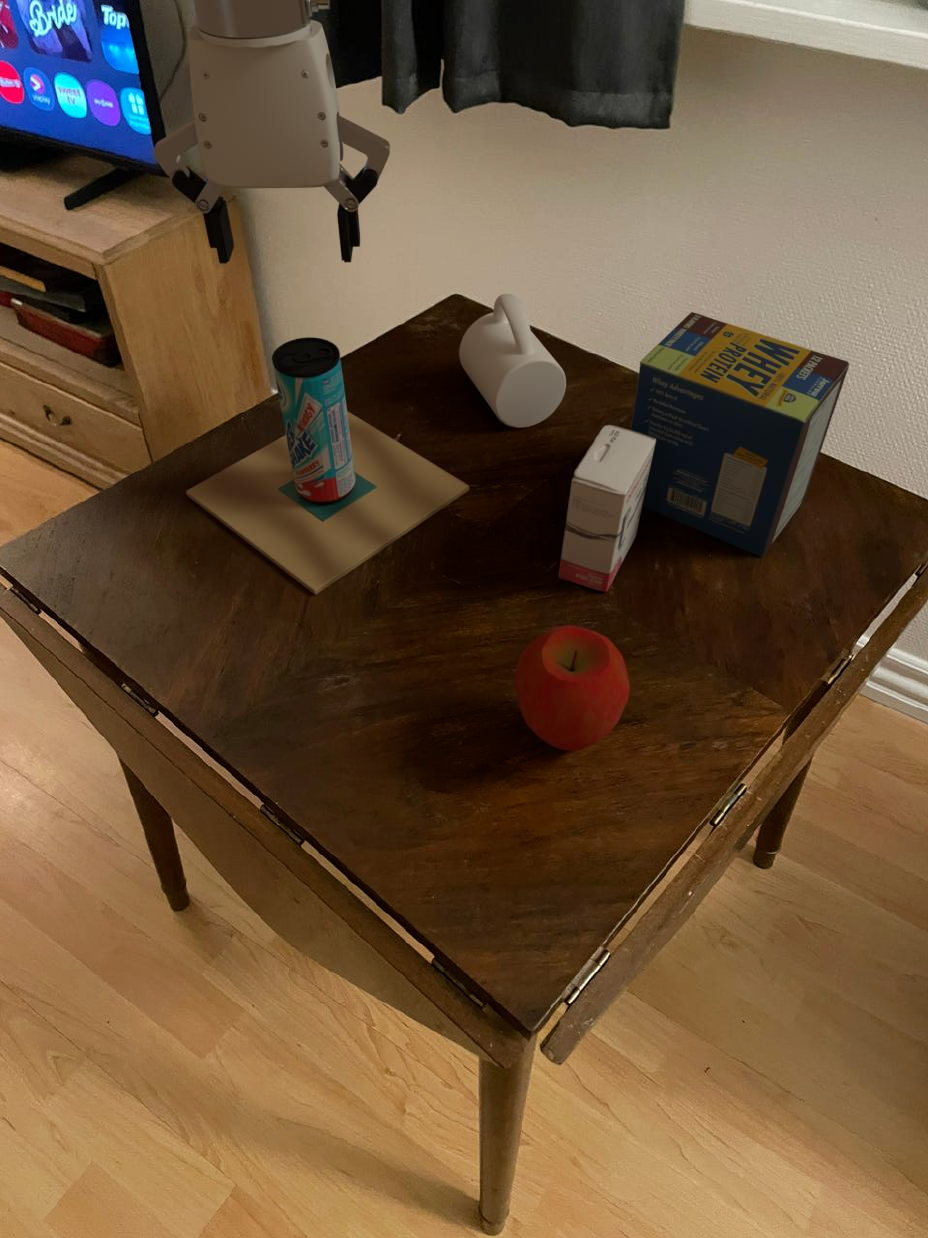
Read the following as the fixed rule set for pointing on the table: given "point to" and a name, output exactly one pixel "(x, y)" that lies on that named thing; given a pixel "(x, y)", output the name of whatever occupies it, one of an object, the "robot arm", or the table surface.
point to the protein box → (733, 428)
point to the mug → (512, 365)
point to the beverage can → (315, 418)
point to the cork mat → (327, 505)
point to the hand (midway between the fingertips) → (287, 254)
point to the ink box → (605, 506)
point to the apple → (571, 686)
